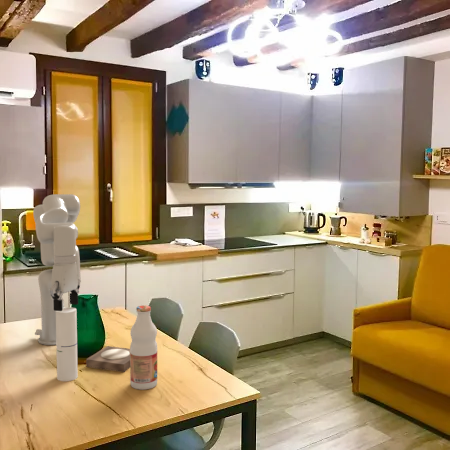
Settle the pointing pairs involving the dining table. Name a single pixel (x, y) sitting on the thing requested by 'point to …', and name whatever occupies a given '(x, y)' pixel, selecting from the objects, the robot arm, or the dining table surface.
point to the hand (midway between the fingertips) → (66, 307)
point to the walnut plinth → (110, 359)
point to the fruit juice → (143, 351)
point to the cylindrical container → (66, 344)
